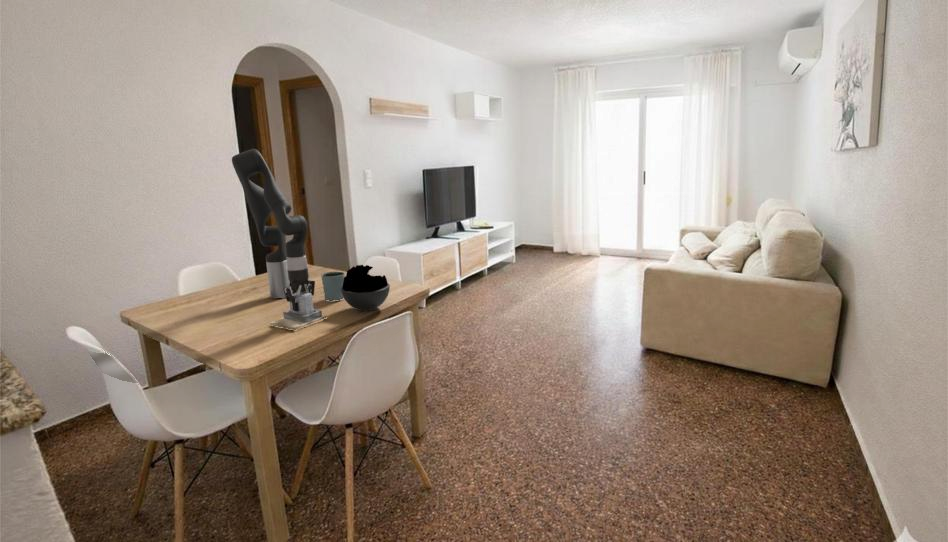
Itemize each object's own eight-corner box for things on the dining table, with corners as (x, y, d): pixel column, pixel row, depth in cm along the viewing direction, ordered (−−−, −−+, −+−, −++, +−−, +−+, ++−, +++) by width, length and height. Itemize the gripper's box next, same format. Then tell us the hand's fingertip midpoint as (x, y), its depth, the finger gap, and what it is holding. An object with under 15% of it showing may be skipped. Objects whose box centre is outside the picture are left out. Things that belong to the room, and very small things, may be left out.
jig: (303, 314, 205) (302, 305, 204) (327, 319, 198) (326, 309, 197) (270, 325, 192) (269, 316, 191) (295, 331, 185) (294, 321, 184)
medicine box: (314, 314, 197) (312, 293, 195) (307, 317, 193) (305, 296, 191) (298, 312, 199) (295, 291, 197) (290, 315, 195) (288, 294, 193)
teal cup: (319, 301, 223) (316, 275, 220) (333, 295, 232) (330, 270, 229) (337, 303, 219) (335, 277, 216) (351, 297, 228) (349, 272, 225)
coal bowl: (368, 299, 223) (365, 259, 219) (400, 306, 212) (398, 264, 208) (332, 311, 207) (328, 268, 203) (365, 320, 196) (362, 274, 192)
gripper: (305, 262, 199) (309, 303, 203) (275, 270, 187) (280, 313, 191) (318, 264, 196) (322, 305, 200) (289, 272, 184) (293, 315, 188)
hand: (301, 309), depth 196 cm, fingers closed on medicine box, 5 cm apart
